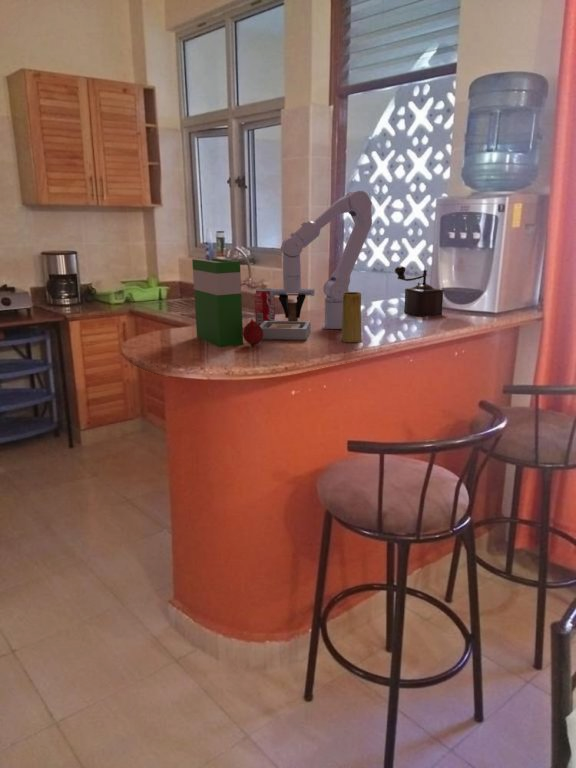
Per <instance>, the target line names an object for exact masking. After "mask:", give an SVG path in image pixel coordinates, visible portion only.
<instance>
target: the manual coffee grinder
mask: <svg viewBox="0 0 576 768" xmlns="http://www.w3.org/2000/svg"><path fill="white" fill-rule="evenodd" d="M405 272H406V267H405V266H402V265H400V266H397V267H395V268H394V273H395V274H396V275H397V280H401V281H406V282H411V281H416V280H418V279H422V278H423V280H422V283H420V282H417V285H415V286H412V287H411V288H404V307H403V313H404V314H406V315H409V316H413V317H418V318H421V317H422V318H424V317H426V318H427V317H434V316H435V317H436V316H442V314H443V300H444V298H443V297H444V289H439V288H434V287H433V286H432V285H430V284H428V283H426V280H427V275H428V274H427V272H428V271H427V269H424V270H423V273H422V274H421V275H419V276H415V277H411V278H410V277H409V278H406V276H405Z"/></svg>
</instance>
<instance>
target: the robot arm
mask: <svg viewBox="0 0 576 768" xmlns="http://www.w3.org/2000/svg"><path fill="white" fill-rule="evenodd" d="M372 203H373V202H372V200H371V199H370V196H369V195H368V193H367V192H365V191H364V190H356V191H349V192H347V193H346V194H345V195H344V196H342V197H340V198H339V199H337V200H336V201H335V202H333V204H331V205H330V206H329V207H328V208H327V209H326V210H325V211H324V212H323V213H322V214H321V215H319V216H318V217H317V218H316V219H315V220H314V221H312V220H307V222H305V221H304V222H302V223H301V225H300V227H299V228H298V229H297V230H296V231H295V232H291V233H290V234H289V236H290V237H288V238H285V239H284V240H283V241H282V242H281V246H280V251H281V252H282V259H283V260H282V281H283V284H282V285H283V286H282V287H283V288H281V289H280V288H276V289H274V288H270V289H271V290H270V296H274V297H275V296H277V297H278V296H279V297H278V300H279V302H280V304H281V306H282V309H283V312H284V315H285V319H288V302H289V296H291V297H292V296H296V302H297V318H298V319H300V317H301V312H302V308H303V304H304V302H305V300H306V296H307V297H308V296H310V297H314V296H315V294H316V293H315V290H316V289H315V288H302V283H301V282H302V281H301V280H302V276H301V273H302V272H301V271H302V270H301V254H302V252H303V249H305V248H306V247H308V246H309V245H310V244H311V243H313V242H314V240H316V239H317V238H318V237H319V236H320V234H321V229H323V227H325V226H327V224H329V223H330V222H332V221H333V220H334V219H336V218H337V217H338V216H339V215H341V214H346V213H348V214H349V215H350V217H351V219H352V221H353V223H354V225H353V228H352V231H351V233H350V235H349V238H348V240H347V242H346V244H345V246H344V249H343V252H342V254H341V255H340V256H341V257H340V258H339V260H338V264H337V266H336V267H335V270H334V271H332V273H331V275H330V277H329V279H328V280H327V281H325V283H324V285H323V293H324V294H325V299H324V323H323V326H322V329H325V330H334V329H335V330H336V329H337V330H342V316H343V293H345V292H349V286H350V283H351V274H352V272H353V270H354V267H355V265H356V262H357V260H358V258H359V256H360V254H361V250H362V249H363V246H364V244H365V241H366V239H367V237H368V234H369V232H370V230H371V228H372V225H373V219H372V217H373V216H372Z"/></svg>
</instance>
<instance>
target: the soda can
mask: <svg viewBox="0 0 576 768" xmlns="http://www.w3.org/2000/svg"><path fill="white" fill-rule="evenodd" d="M271 289H272V288H257V289H255V292H254V296H253V297H254V298H253V299H254V321H255V322H256V323H258V324H260V325H261V324H262V323H263V322H264V321H276V319H275V318H276V304H275V303H276V302H275V300H276V299H275V296H270V290H271Z"/></svg>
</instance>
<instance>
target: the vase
mask: <svg viewBox="0 0 576 768" xmlns="http://www.w3.org/2000/svg"><path fill="white" fill-rule="evenodd" d="M361 309H362V293H361V292H359V291H357V292H356V291H348V292H345V293H343V316H342V329H341V337H340V341H341V342H342V341H343V342H342V343H345V342H358V343H361V342H362V341H363V340H362V310H361ZM360 341H361V342H360Z"/></svg>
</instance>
